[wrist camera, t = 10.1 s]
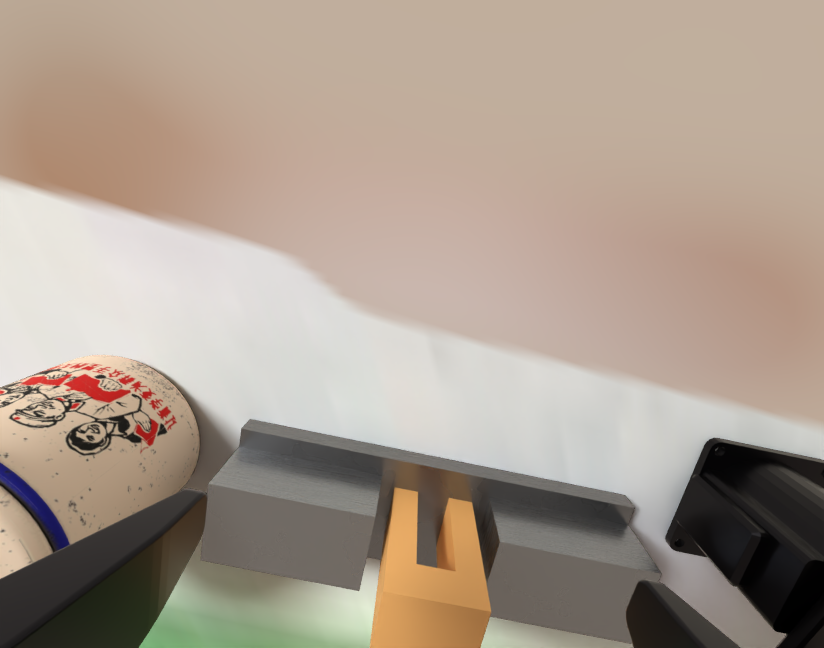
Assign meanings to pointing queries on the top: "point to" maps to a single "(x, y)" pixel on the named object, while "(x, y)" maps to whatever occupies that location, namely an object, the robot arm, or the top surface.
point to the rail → (425, 525)
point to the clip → (430, 582)
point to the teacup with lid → (87, 452)
